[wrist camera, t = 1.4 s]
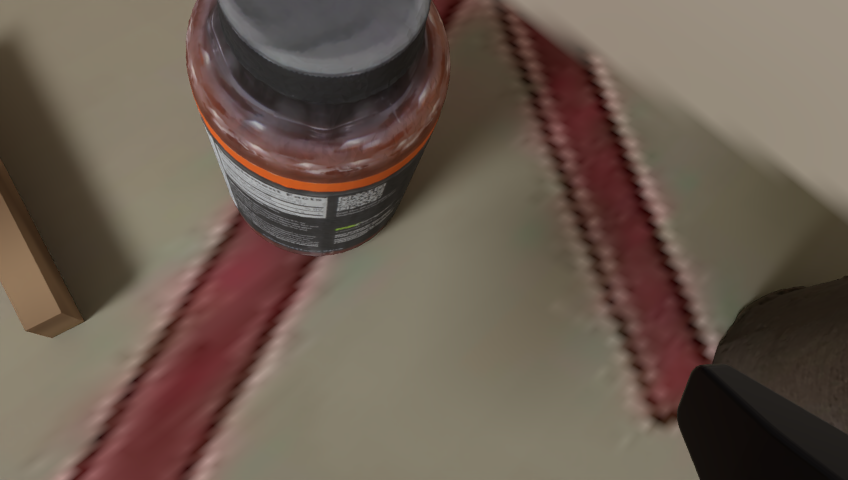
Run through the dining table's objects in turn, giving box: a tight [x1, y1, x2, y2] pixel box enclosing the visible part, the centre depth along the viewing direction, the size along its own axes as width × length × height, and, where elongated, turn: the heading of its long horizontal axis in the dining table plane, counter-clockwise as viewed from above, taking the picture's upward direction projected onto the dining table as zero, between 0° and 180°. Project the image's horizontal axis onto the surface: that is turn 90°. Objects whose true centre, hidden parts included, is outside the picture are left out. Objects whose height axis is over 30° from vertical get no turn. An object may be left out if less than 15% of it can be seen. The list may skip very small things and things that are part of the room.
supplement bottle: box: [186, 0, 451, 256], centre depth 17 cm, size 6×6×11 cm
